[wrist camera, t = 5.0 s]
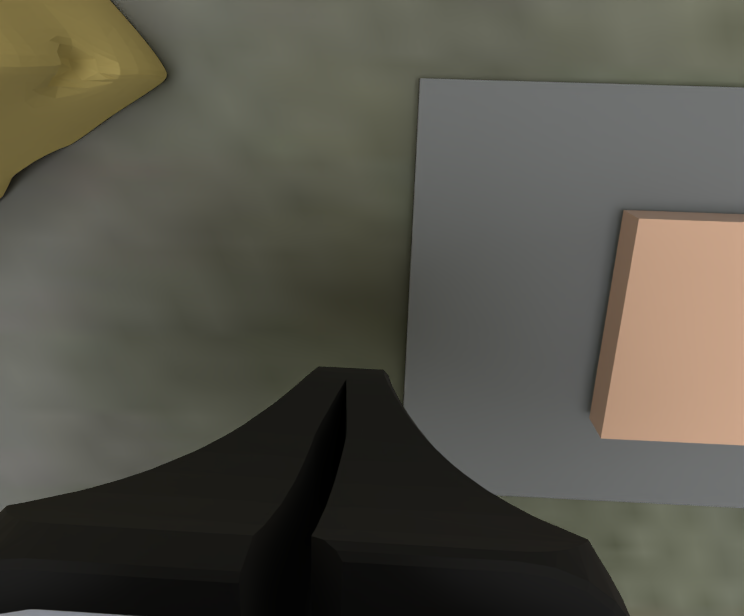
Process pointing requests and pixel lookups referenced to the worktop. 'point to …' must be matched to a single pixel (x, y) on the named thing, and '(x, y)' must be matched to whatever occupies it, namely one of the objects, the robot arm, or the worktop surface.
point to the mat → (552, 275)
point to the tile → (674, 331)
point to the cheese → (65, 74)
